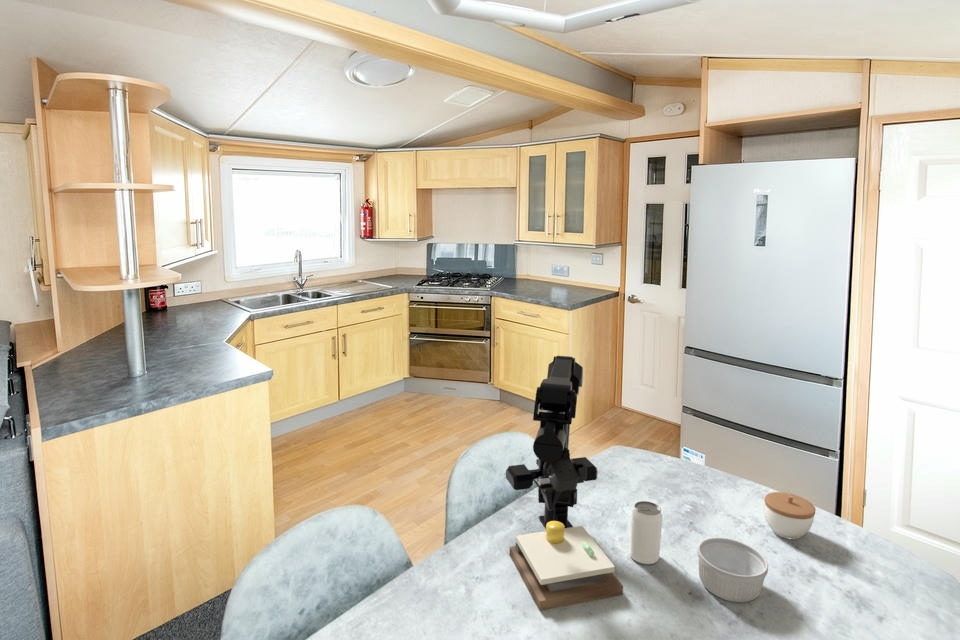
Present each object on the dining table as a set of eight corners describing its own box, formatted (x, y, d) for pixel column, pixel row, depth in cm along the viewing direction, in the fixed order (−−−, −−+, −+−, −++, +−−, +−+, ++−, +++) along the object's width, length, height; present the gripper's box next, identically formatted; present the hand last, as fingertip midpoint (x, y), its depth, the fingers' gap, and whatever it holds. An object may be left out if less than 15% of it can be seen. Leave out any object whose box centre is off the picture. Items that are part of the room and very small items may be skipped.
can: (660, 567, 121) (664, 517, 119) (629, 563, 122) (633, 513, 120) (657, 549, 127) (661, 501, 125) (627, 546, 128) (631, 498, 126)
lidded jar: (798, 521, 140) (803, 487, 138) (819, 546, 129) (825, 510, 128) (754, 518, 141) (758, 484, 139) (771, 543, 130) (776, 507, 129)
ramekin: (759, 573, 120) (763, 544, 118) (769, 615, 108) (773, 583, 106) (694, 560, 124) (696, 531, 123) (695, 598, 112) (699, 567, 110)
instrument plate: (515, 540, 123) (516, 523, 122) (581, 530, 127) (582, 513, 126) (540, 585, 109) (541, 566, 108) (614, 571, 113) (615, 553, 112)
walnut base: (509, 554, 125) (509, 539, 124) (582, 543, 129) (583, 528, 129) (539, 610, 108) (539, 593, 107) (622, 594, 112) (623, 578, 112)
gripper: (524, 463, 106) (522, 537, 109) (612, 453, 111) (607, 524, 114) (505, 439, 116) (504, 508, 119) (587, 431, 121) (583, 496, 124)
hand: (550, 509), depth 119 cm, fingers closed
